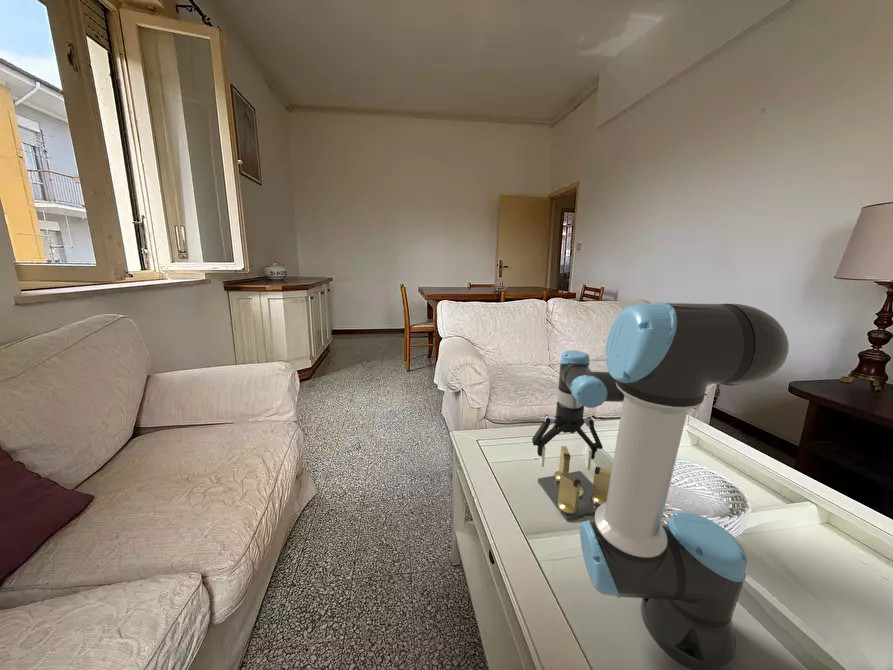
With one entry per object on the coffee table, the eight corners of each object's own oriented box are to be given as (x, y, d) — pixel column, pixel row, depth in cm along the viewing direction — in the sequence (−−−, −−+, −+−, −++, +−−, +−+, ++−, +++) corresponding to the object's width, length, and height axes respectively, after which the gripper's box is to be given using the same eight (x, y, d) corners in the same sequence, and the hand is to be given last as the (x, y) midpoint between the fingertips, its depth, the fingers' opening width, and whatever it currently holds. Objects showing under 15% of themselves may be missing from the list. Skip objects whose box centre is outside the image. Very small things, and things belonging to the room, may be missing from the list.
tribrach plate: (616, 510, 96) (617, 502, 95) (564, 521, 92) (564, 514, 92) (580, 471, 112) (581, 465, 111) (534, 480, 108) (534, 473, 107)
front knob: (564, 496, 99) (567, 468, 96) (581, 507, 95) (584, 478, 92) (553, 505, 96) (556, 476, 93) (570, 516, 92) (573, 486, 89)
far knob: (569, 472, 109) (572, 446, 106) (573, 483, 104) (576, 456, 101) (552, 471, 110) (555, 445, 107) (555, 482, 105) (558, 455, 102)
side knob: (610, 508, 94) (614, 479, 92) (590, 501, 97) (594, 473, 94) (612, 496, 99) (616, 468, 96) (593, 490, 101) (596, 462, 99)
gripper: (610, 399, 102) (602, 460, 108) (525, 395, 105) (522, 456, 110) (620, 410, 95) (611, 476, 100) (528, 407, 97) (524, 470, 103)
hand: (564, 465), depth 105 cm, fingers open, 13 cm apart
